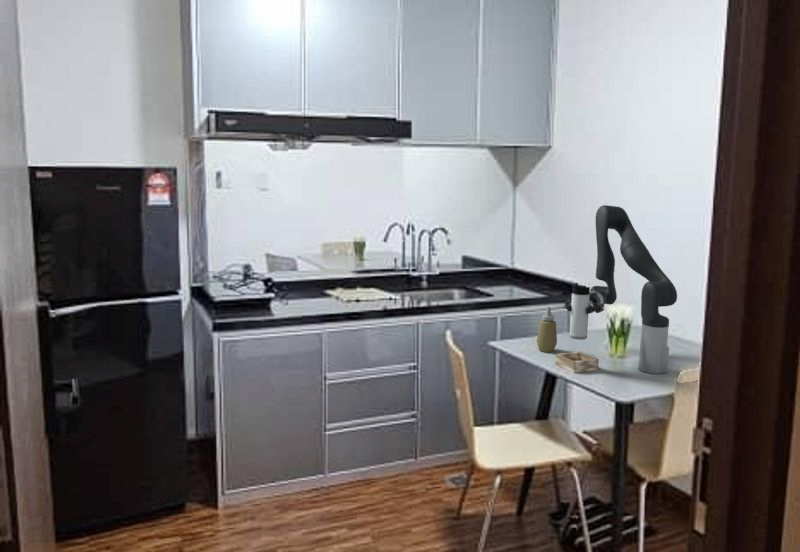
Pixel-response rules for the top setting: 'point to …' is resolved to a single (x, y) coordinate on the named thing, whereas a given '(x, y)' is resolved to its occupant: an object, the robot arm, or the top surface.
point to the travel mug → (579, 312)
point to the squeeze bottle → (547, 332)
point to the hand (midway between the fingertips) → (577, 309)
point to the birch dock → (576, 362)
